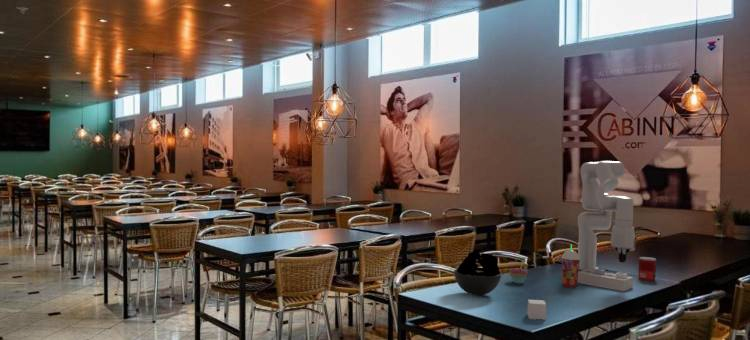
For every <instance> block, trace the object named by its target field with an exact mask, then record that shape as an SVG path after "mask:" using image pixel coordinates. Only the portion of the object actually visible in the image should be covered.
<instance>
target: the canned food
mask: <svg viewBox="0 0 750 340" xmlns="http://www.w3.org/2000/svg"><path fill="white" fill-rule="evenodd" d="M637 274H638V276H637V277H638V280H642V281H647V282H648V281H649V282H654V281H655V280H656V275H657V259H656V258H655V257H650V256H649V257H648V256H639V259H638V273H637Z"/></svg>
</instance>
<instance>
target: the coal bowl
mask: <svg viewBox="0 0 750 340" xmlns="http://www.w3.org/2000/svg"><path fill="white" fill-rule="evenodd" d="M480 252H481V250H480V249H475V250H473V251H470V252H469V253H468V254H467V256H465V258H464V260H462V262H461V263H460V265H458V267H457V268H455V269H454V271H453V273H454V278H455V281H456V282H457V285H458V287H460V289H462V290H463V291H464V292H466V293H467V294H469V295H472V296H477V297H478V296H485V295H488V294H490V293H491V292H493V291H494V290H495V289H497V287H498V285H499V283H500V281H501V277H502V273H501V271H500V268H499V265H498V262H499V260H498V258H497V257H496V256H494V255H493V254H492V253H484V252H482V253H480ZM477 261H478V263H479V264H480V266H481V267H479V266H478V264H477Z"/></svg>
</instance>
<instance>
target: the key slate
mask: <svg viewBox="0 0 750 340" xmlns="http://www.w3.org/2000/svg"><path fill="white" fill-rule="evenodd" d="M605 273H606V269H601V268H599V269H594V270H593V274H597V275H604V274H605Z"/></svg>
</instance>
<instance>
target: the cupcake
mask: <svg viewBox="0 0 750 340" xmlns="http://www.w3.org/2000/svg"><path fill="white" fill-rule="evenodd" d="M523 263H524V259H521V263H520V267H513V268H512V269H510V270H509V276H511V278H512V279H511V280H512V282H513V283H514V284H523V283H524V282H525V279H526V277H528V271H527V270H526V269H524V268H523Z"/></svg>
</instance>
